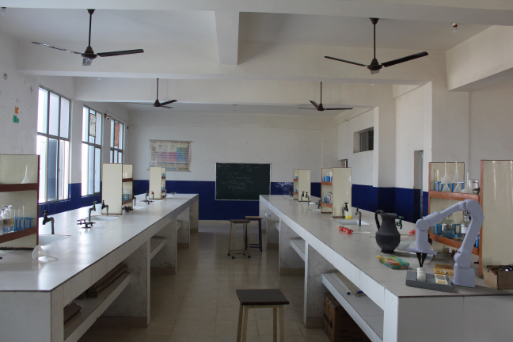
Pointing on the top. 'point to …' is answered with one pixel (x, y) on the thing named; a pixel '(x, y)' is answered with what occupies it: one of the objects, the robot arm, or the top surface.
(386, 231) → the pitcher
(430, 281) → the board
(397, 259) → the puzzle game
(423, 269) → the button
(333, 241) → the top surface
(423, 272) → the button middle
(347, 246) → the top surface
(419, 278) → the button
